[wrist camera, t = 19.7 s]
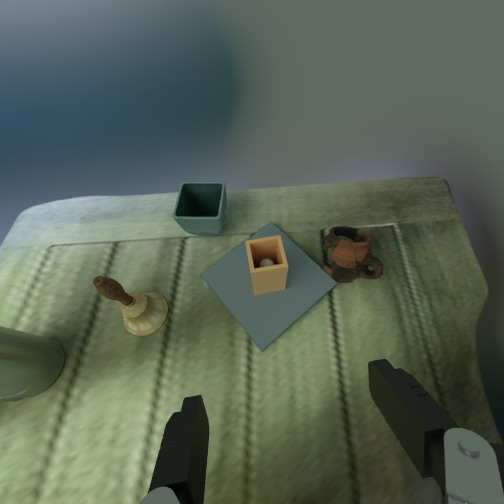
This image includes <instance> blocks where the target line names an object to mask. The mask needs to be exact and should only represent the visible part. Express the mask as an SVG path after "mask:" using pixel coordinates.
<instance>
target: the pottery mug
mask: <svg viewBox="0 0 504 504" xmlns="http://www.w3.org/2000/svg"><path fill="white" fill-rule="evenodd" d="M357 232H358V230H357V229H356V228H352V227H345V226H341V227H340V226H339V227H333V228H332V229H331V230H330V234H328V235H327V236H326V237H325V238H324V239H323V241H325V243H324V245H323V248H324V250H325V251H326V250H327V249H328V248H330V247H333V246H337V247H336V248H335V249H334V251H333V252H332V253H331V259H332V260H333V261H334V262H333V269H332V268H330V267H328V266H327V265H324V267H323V270H324V271H325V272H326V273H327V274H328V275H329V276H330V277H331V278H333V279H334V280H335V281H337V282H341V283H349V282H352V281H353V280H354V279H355V278H356V277H357V276H358V277H363V278H366V279H376V278H379V277H380V276H381V275H383V269H384V267H383V264H382V262H381V261H380V260H378V259H377V258H376V257H374V256H373V255H372V253H371V252H368V251H371V246H370V243H371V238H370V236H369V235H368V234H366V233H363V234H362V236H360V235H358V234H356V233H357ZM337 236H346V237H348V238H350V239H352V240H353V242H349V241H346V240H343V239H340V238H339V237H337ZM363 241H364V242H363ZM357 262H361V264H360V265H359V266H357ZM369 265H370V266H372V267H373V268H374V270H373V271H370V270H369V269H368V266H369Z"/></svg>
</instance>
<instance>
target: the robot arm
mask: <svg viewBox="0 0 504 504" xmlns="http://www.w3.org/2000/svg"><path fill="white" fill-rule="evenodd" d="M64 360H65V353H64V349H63V347H62V345H61V344H60V343H59V342H58V341H56V340H54V339H50V338H46V337H42V336H38V335H34V334H30V333H26V332H22V331H18V330H14V329H10V328H6V327H2V326H0V402H7V401H18V400H19V399H20V398H22V397H31V396H35V395H38V394H40V393H42V392H43V391H45V390H46V389H47V388H49V387H50V386H51V385H52V384H53V383H54V382H55V380H56V379H57V378H58V376H59V374H60V373H61V371H62V368H63V365H64ZM368 371H369V389H370V393H371V396H372V399H373V401H374V402H375V404H376V406H377V407H378V409H379V410H380V412H381V413H382V415H383V417H384V418H385V420H386V421H387V423H388V424H389V426H390V428H391V429H392V431H393V432H394V434H395V435H396V437H397V439H398V440H399V442H400V443H401V445H402V446H403V448H404V450H405V451H406V453H407V454H408V456H409V458H410V459H411V461H412V462H413V464H414V465H415V467H416V469H417V470H418V472H419V473H420V475H421V476H422V478H428V477H434V479H435V480H436V482H437V483H438V485H439V486H440V488H441V504H504V445H502V444H494V443H488V442H487V441H486V440H484V439H483V438H482V437H480V436H479V435H477V434H476V433H474V432H472V431H469V430H466V429H462V428H460V427H459V426H458V425H457V424H456V423H455V422H454V421H453V420H452V418H451V417H450V416H449V415H448V414H447V413H446V412H445V411H444V410H443V409H442V408H441V406H440V405H439V404H438V403H437V402H436V401H435V400H434V399H433V398H432V397H431V395H429V394H428V392H427V391H426V390H425V389H424V388H423V387H422V386H421V384H420V383H419V382H418V381H417V380H416V379H415V378H414V377H413V376H412V375H411V374H409V373H407V372H406V371H404V370H403V369H401V368H399V369H394V367H393V366H392V365H391V364H390V363H389V362H388V360H386V359H381V360H375V361H370V362H369V363H368ZM208 443H209V422H208V417H207V414H206V410H205V406H204V403H203V399H202V396H201V395H196V396H191V397H186V398H184V400H183V405H182V409H181V412H175V413H173V414H172V416H171V417H170V419H169V421H168V422H167V424H166V427H165V431H164V434H163V439H162V442H161V446H160V450H159V453H158V457H157V461H156V465H155V469H154V472H153V476H152V480H151V484H150V488H149V491H148V493H147V495H146V496H145V497H144V498H143V500H142V501H141V502H140V504H203V502H204V490H205V479H206V467H207V455H208Z"/></svg>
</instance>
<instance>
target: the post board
mask: <svg viewBox="0 0 504 504" xmlns="http://www.w3.org/2000/svg"><path fill="white" fill-rule="evenodd" d="M277 235H280V236H281V240H282V244H283V248H284V252H285V256H286V259H287V263H288V272H287V279H286V285H285V290H282V291H276V292H271V293H265V294H259V295H254V291H253V285H252V279H251V274H250V268H249V262H248V256H247V249H246V243H245V242H243V243H242V244H240V245H239V246H238V247H236V248H235V249H234V250H232V251H231V252H230V253H228V254H227V255H226V256H224V257H223V258H221V259H220V260H219V261H217V262H216V263H215V264H213V265H212V266H211V267H209V268H208V269H207V270H205V271H204V272H203V273H201V276H202V278H203V279H204V280H205V281H206V283H207V284H208V285H209V286H210V288H211V289H212V290H213V291H214V293H215V294H216V295H217V296H218V298H219V299H220V300H221V301H222V303H223V304H224V305H225V306H226V308H227V309H228V310H229V311H230V313H231V314H232V315H233V316H234V317H235V319H236V320H237V321H238V322H239V324H240V325H241V326H242V327H243V329H244V330H245V331H246V332H247V334H248V335H249V336H250V337H251V339H252V340H253V341H254V342H255V344H256V345H257V346H258V347H259V349H260V350H261V351H262V352H263V351H264V350H265V349H266V348H267V347H268V346H269V345H270V344H272V343H273V342H274V341H275V340H276V339H277V338H278V337H279V336H280V335H281V334H283V333H284V332H285V331H286V330H287V329H288V328H289V327H290V326H291V325H293V324H294V323H295V322H296V321H297V320H298V319H299V318H300V317H301V316H303V315H304V314H305V313H306V312H307V311H308V310H309V309H310V308H311V307H313V306H314V305H315V304H316V303H317V302H318V301H319V300H320V299H321V298H323V297H324V296H325V295H326V294H327V293H328V292H329V291H330V290H331V289H333V288H334V287H335V286H336V284H337V282H336V281H335V280H334V279H333V278H331V277H330V276H329V275H328V274H327V273H326V272H325V271H324V270H323V269H322V268H321V267H320V266H318V265H317V264H316V263H315V262H314V261H313V260H312V259H311V258H310V257H309V256H308V255H307V254H305V253H304V252H303V251H302V250H301V249H300V248H299V247H298V246H297V245H296V244H295V243H294V242H292V241H291V240H290V239H289V238H288V237H287V236H286V235H285V234H284V233H283V232H282V231H281V230H279V229H278V228H277V227H276V226H275V225H274V224H273V223H272V222H270V223H269V224H268V225H266V226H265V227H264V228H262V229H261V230H259V231H258V232H257V233H255V234H254V235H253V236H251V237H250V238H249V239H247V240H246V241H248V240H253V239H259V238H265V237H271V236H277ZM273 265H274V263H273V261H272V260H270V259H263V260H262V261H261V262H260V268H261V267H267V266H273Z"/></svg>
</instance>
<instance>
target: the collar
mask: <svg viewBox="0 0 504 504" xmlns="http://www.w3.org/2000/svg"><path fill="white" fill-rule="evenodd" d="M245 243H246V249H247V256H248V262H249V268H250V274H251V279H252V285H253V291H254V295H259V294H265V293H271V292H276V291H282V290H285V285H286V279H287V272H288V263H287V259H286V256H285V252H284V248H283V244H282V240H281V236H280V235H277V236H271V237H265V238H259V239H253V240H248V241H245ZM263 259H270V260H272V261H273V263H274V265H273V266H267V267H261V268H260V262H261V261H262V260H263Z"/></svg>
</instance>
